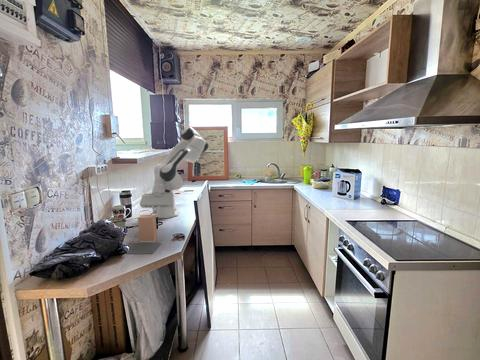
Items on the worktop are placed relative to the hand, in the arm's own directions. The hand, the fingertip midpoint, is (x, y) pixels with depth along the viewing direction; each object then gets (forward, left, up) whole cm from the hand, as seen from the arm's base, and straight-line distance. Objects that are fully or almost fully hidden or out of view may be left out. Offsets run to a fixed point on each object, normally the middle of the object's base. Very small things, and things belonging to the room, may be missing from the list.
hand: (155, 213), depth 153 cm
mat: (+20, -2, -13) cm, 24 cm away
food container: (+2, -25, -14) cm, 28 cm away
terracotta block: (+9, -2, -13) cm, 16 cm away
